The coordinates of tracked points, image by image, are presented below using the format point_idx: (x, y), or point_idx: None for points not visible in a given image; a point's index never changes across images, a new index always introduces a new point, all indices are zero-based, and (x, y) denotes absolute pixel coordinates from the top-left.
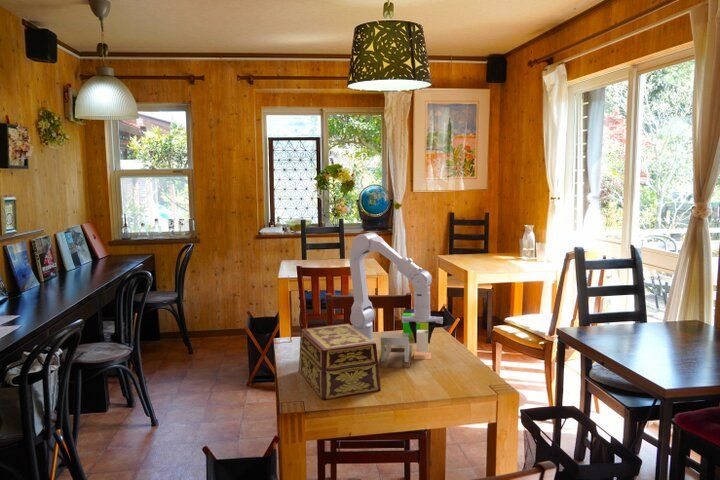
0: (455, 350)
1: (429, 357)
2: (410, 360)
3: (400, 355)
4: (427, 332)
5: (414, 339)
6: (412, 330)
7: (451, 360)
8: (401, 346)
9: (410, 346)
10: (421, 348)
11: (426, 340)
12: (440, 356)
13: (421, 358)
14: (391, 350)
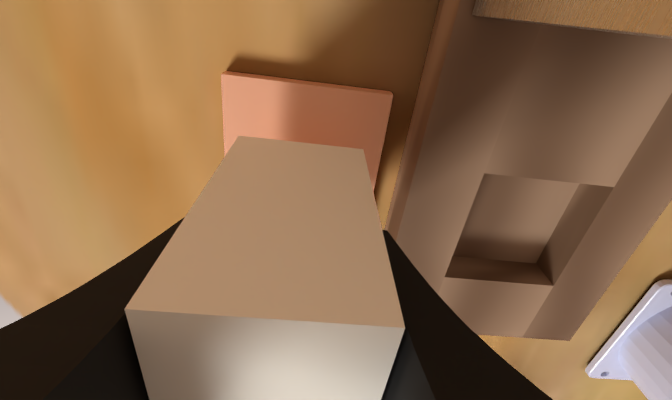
0: (59, 296)
1: (236, 117)
2: (437, 29)
3: (554, 76)
4: (147, 349)
5: (407, 257)
6: (520, 392)
7: (17, 68)
8: (461, 310)
9: None
10: (308, 161)
11: (216, 210)
12: (148, 180)
13: (315, 90)
14: (540, 270)
